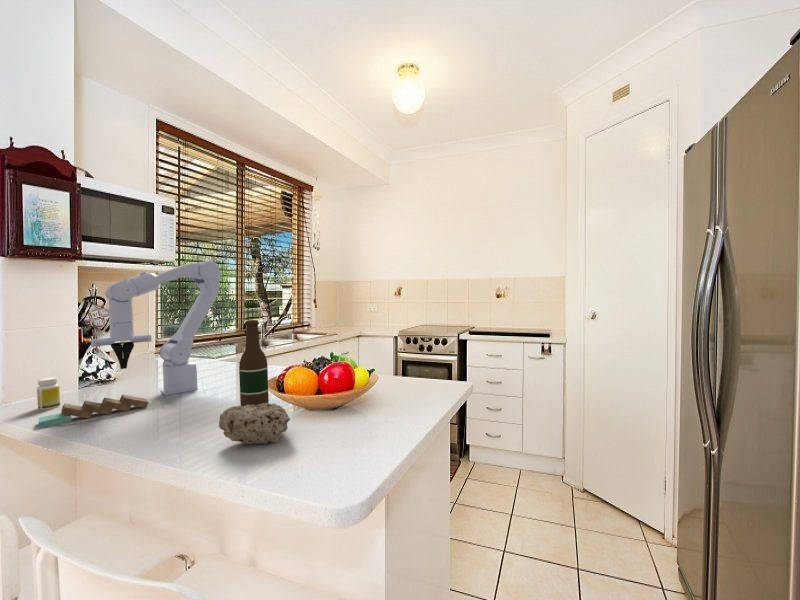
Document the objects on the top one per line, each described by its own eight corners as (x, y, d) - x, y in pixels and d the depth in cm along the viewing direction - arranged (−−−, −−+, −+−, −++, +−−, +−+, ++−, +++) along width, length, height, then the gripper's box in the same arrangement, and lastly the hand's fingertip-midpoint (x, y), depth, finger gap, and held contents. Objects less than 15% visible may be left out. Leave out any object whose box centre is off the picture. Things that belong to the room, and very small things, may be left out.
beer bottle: (246, 413, 103) (242, 322, 102) (235, 407, 109) (232, 320, 108) (274, 407, 108) (271, 319, 107) (263, 401, 114) (260, 318, 113)
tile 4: (91, 408, 105) (64, 403, 101) (92, 412, 101) (64, 407, 98) (88, 414, 105) (61, 409, 101) (89, 418, 101) (61, 413, 97)
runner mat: (158, 400, 117) (158, 400, 117) (164, 406, 110) (164, 406, 110) (60, 418, 102) (60, 417, 102) (61, 426, 96) (60, 425, 96)
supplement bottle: (64, 405, 114) (63, 376, 114) (48, 410, 109) (47, 380, 109) (49, 405, 115) (48, 376, 114) (33, 410, 110) (31, 380, 110)
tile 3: (110, 404, 108) (84, 400, 104) (112, 408, 104) (85, 404, 101) (108, 410, 107) (82, 406, 104) (110, 414, 104) (82, 410, 100)
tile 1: (145, 398, 113) (122, 394, 109) (148, 402, 110) (124, 397, 106) (143, 404, 113) (119, 400, 109) (146, 408, 109) (121, 403, 105)
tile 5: (70, 411, 102) (39, 417, 98) (70, 415, 99) (38, 422, 95) (71, 417, 102) (40, 423, 98) (71, 421, 99) (39, 428, 95)
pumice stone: (218, 458, 76) (216, 417, 76) (220, 436, 87) (219, 401, 87) (292, 445, 81) (291, 407, 81) (285, 426, 92) (284, 393, 92)
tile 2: (129, 401, 111) (104, 397, 107) (131, 405, 107) (105, 401, 103) (126, 407, 110) (101, 403, 106) (128, 411, 107) (102, 407, 103)
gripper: (148, 320, 124) (149, 362, 124) (89, 323, 115) (91, 370, 115) (151, 321, 119) (153, 366, 119) (90, 325, 109) (93, 373, 110)
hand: (123, 368), depth 117 cm, fingers closed
